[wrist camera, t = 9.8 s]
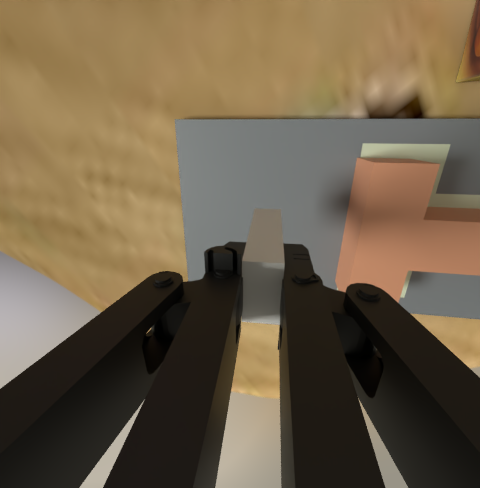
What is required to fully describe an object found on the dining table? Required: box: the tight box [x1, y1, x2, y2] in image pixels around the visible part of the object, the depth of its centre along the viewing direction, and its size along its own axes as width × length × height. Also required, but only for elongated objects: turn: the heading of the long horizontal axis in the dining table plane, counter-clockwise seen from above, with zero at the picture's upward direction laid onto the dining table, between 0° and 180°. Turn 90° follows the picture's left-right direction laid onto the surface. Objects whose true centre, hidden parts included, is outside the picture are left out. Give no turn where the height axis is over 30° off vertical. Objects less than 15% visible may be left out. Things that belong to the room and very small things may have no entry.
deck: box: [175, 119, 480, 319], centre depth 20 cm, size 26×15×1 cm, turn 90°
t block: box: [335, 158, 480, 303], centre depth 18 cm, size 10×10×4 cm
